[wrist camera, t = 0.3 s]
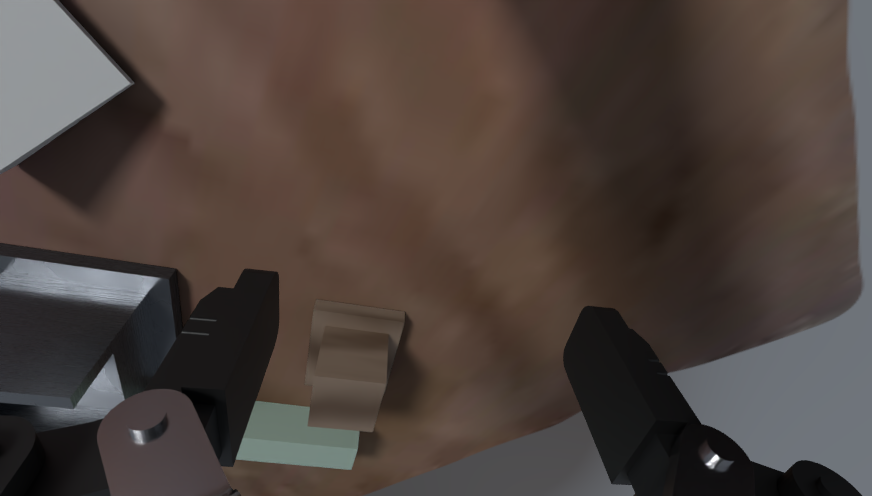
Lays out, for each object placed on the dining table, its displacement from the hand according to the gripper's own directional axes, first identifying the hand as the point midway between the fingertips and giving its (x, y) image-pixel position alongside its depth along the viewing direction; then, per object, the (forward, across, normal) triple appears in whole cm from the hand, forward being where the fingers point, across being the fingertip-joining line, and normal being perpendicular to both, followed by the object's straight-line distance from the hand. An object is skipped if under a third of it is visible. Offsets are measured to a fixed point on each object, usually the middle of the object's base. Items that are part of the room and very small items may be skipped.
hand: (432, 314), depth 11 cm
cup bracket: (+18, +22, +19) cm, 34 cm away
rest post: (+18, +2, +20) cm, 27 cm away
